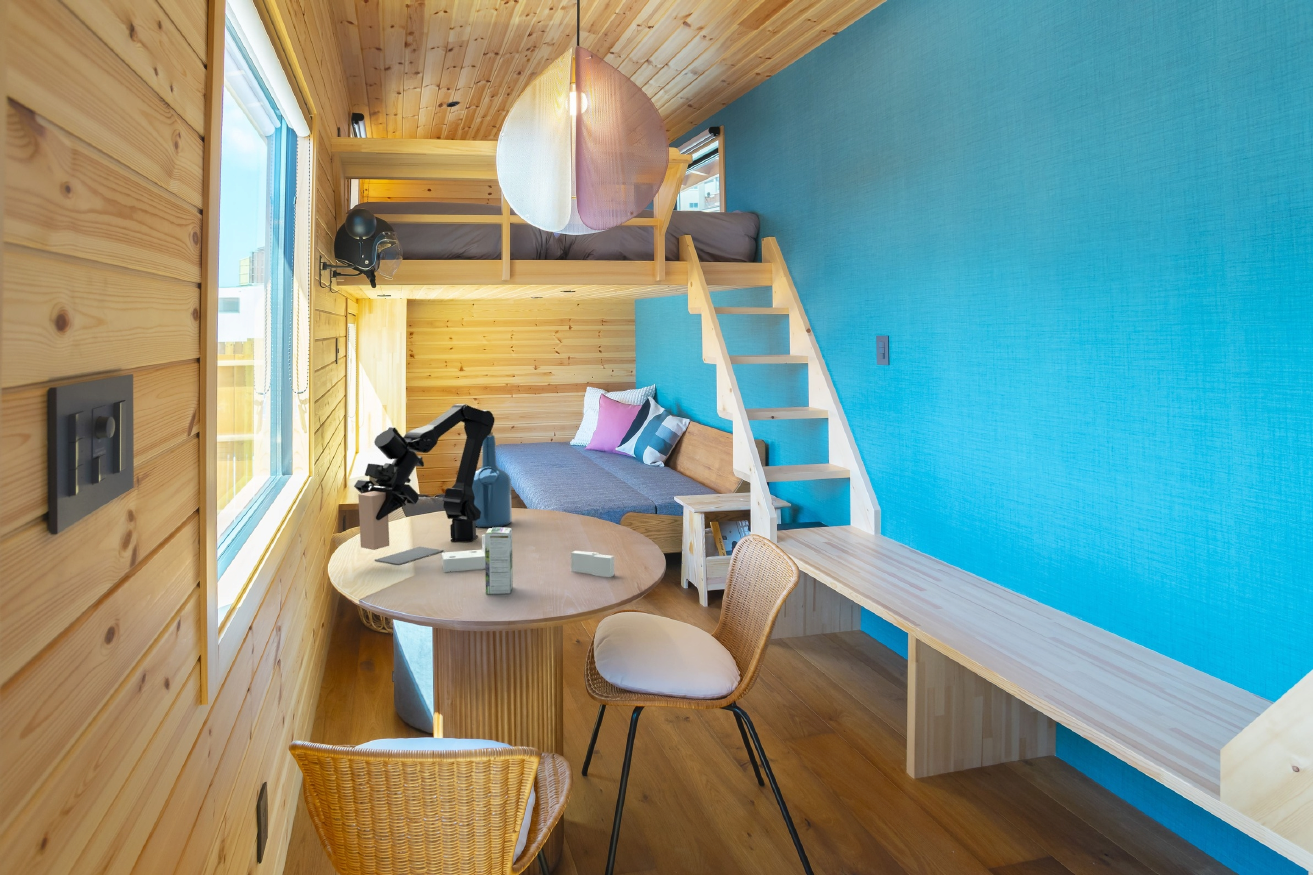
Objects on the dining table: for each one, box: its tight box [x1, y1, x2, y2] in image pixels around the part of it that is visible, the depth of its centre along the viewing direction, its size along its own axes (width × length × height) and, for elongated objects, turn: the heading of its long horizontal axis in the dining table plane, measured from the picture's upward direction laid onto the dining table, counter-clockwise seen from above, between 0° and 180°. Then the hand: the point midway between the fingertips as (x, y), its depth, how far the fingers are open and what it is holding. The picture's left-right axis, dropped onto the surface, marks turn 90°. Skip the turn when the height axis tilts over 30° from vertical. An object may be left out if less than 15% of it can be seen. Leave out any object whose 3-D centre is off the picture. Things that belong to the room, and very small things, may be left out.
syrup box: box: [484, 526, 514, 595], centre depth 190 cm, size 6×6×14 cm
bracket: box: [441, 533, 486, 573], centre depth 212 cm, size 13×7×8 cm, turn 108°
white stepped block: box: [570, 550, 615, 578], centre depth 204 cm, size 15×11×6 cm
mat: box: [374, 546, 444, 566], centre depth 223 cm, size 16×9×1 cm, turn 151°
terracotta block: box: [357, 491, 390, 551], centre depth 211 cm, size 5×5×14 cm
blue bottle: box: [472, 430, 513, 528], centre depth 260 cm, size 14×13×30 cm
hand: (369, 518), depth 210 cm, fingers closed on terracotta block, 5 cm apart
